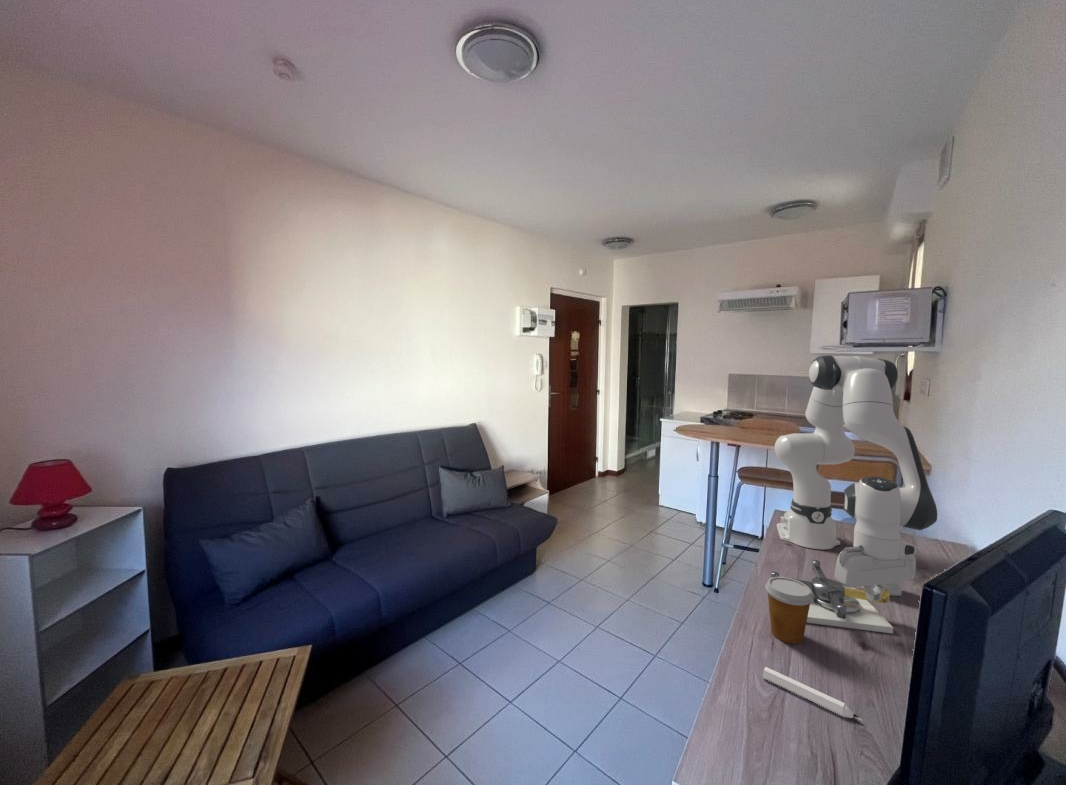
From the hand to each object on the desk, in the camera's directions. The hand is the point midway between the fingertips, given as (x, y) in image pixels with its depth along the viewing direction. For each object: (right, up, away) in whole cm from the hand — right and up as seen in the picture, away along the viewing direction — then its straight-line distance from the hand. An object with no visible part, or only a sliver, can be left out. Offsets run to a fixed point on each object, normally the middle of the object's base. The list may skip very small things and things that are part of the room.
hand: (873, 599), depth 105 cm
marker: (-31, -8, -24) cm, 40 cm away
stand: (-7, -5, +6) cm, 10 cm away
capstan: (-8, -3, +6) cm, 10 cm away
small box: (+13, -5, +14) cm, 20 cm away
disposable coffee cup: (-25, -6, -6) cm, 26 cm away
